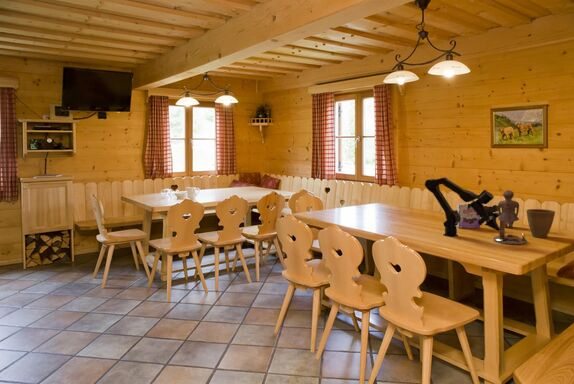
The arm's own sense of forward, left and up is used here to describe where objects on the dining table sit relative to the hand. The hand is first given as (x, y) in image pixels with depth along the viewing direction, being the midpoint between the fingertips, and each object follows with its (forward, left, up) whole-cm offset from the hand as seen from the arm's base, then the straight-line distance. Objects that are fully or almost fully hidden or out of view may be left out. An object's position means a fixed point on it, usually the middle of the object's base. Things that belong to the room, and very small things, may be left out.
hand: (499, 230), depth 243 cm
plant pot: (+2, +34, -8) cm, 35 cm away
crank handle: (+3, +6, -5) cm, 9 cm away
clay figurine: (-26, +44, -7) cm, 51 cm away
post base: (+1, +8, -7) cm, 11 cm away
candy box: (-39, +21, -8) cm, 44 cm away
